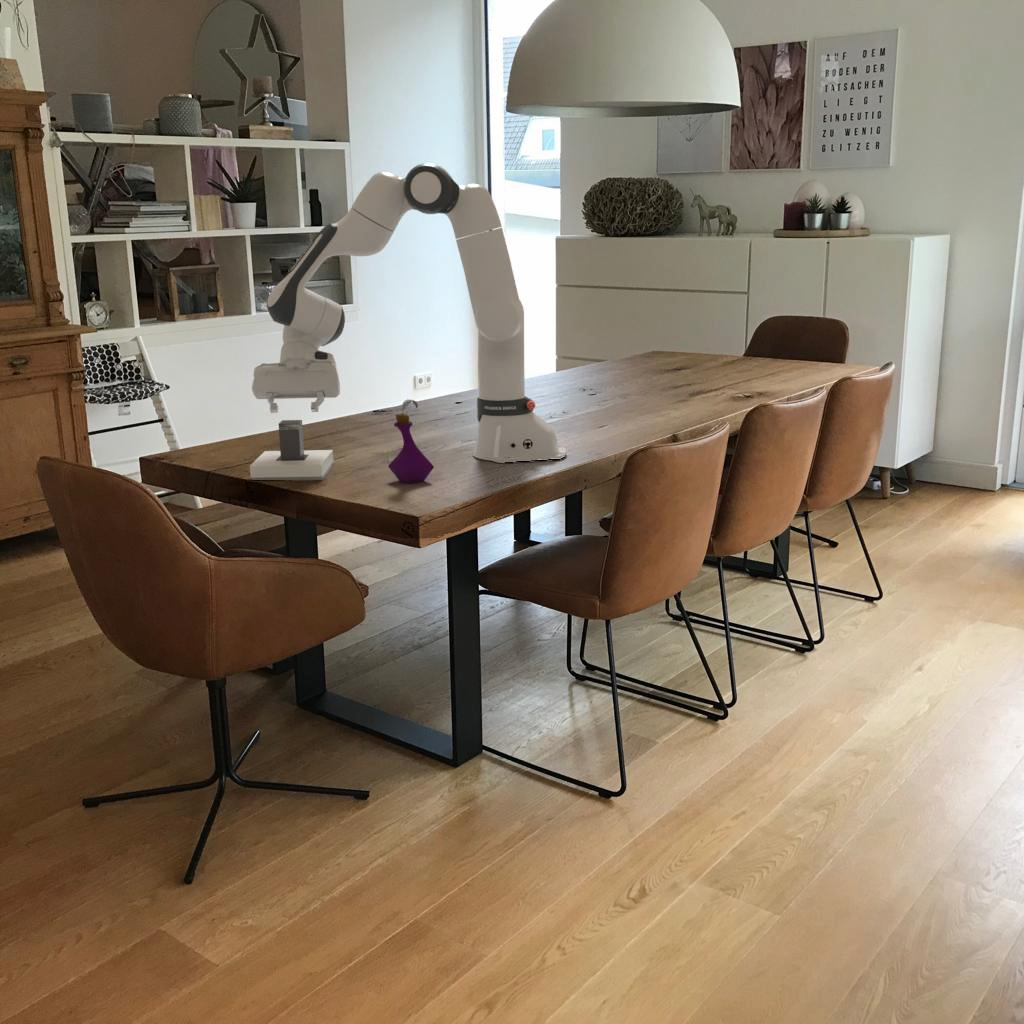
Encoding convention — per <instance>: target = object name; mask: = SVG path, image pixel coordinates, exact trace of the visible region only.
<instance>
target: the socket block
mask: <svg viewBox="0 0 1024 1024" xmlns="http://www.w3.org/2000/svg"><path fill="white" fill-rule="evenodd" d="M304 459H305V460H302V461H281V453H280V450H265V451H263V453H261V454H260V455H259V456H258V457H257V458H256V459H255V460H254V461H253V462H252V463H251V464H250V465H249V472H250V480H251V479H252V480H285V481H286V480H287V481H288V480H289V481H290V480H292V482H293V481H323V480H324V478H325V477H326V476H327V474H328V473H329V472H330V471H331V470H332V467H334V465H333V464H334V450H333V449H315V450H314V449H313V450H311V449H309V450H305V449H304ZM287 481H286V482H287Z"/></svg>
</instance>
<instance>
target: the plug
mask: <svg viewBox="0 0 1024 1024" xmlns="http://www.w3.org/2000/svg"><path fill="white" fill-rule="evenodd" d="M303 431H304V430H303V420H302V419H287V420H286V419H284V420H283V419H282V420H281V421H280V422H279V423H278V437H279V449H280V450H279V451H280V453H281V461H302V460H305V459H304V450H305V445H304V432H303Z"/></svg>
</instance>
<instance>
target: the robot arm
mask: <svg viewBox="0 0 1024 1024" xmlns="http://www.w3.org/2000/svg"><path fill="white" fill-rule="evenodd" d="M410 210H411V211H412V210H415V211H418V212H420V213H422V214H425V215H436V214H443V215H445V216H447V218H448V220H449V221H450V223H451V226H452V231H453V233H454V237H455V240H456V241H455V242H456V246H457V250H458V254H459V257H460V261H461V265H462V268H463V272H464V277H465V281H466V286H467V291H468V296H469V299H470V304H471V309H472V313H473V317H474V322H475V325H476V328H477V329H478V330H477V332H478V333H477V334H478V337H477V338H478V339H477V340H478V341H477V343H478V344H477V345H478V346H477V347H478V349H477V350H478V351H477V377H478V378H477V380H478V384H477V385H478V397H477V398H476V418H477V421H478V426H477V435H476V442H475V447H474V452H473V454H472V455H473V456H474V457H475V458H476V459H478V460H479V459H480V460H484V461H492V462H495V463H498V464H506V463H505V462H513V463H517V462H516V461H529V460H538V459H551V458H561V457H563V456H565V455H566V454H567V449H566V448H565V447H564V446H563V445H559V444H558V438H557V434H556V430H555V429H554V428H553V426H552V425H550V423H548V422H547V421H545V420H544V419H543V418H541V417H540V416H538V415H537V414H536V413H534V410H535V409H536V403H535V401H534V400H533V399H532V398H530V397H528V396H526V395H525V394H526V393H525V392H526V391H525V388H526V387H525V384H526V383H525V382H526V381H525V309H524V305H523V303H522V301H521V299H520V298H519V292H518V289H517V284H516V280H515V276H514V275H515V274H514V271H513V267H512V266H513V265H512V262H511V258H510V253H509V250H508V246H507V242H506V238H505V234H504V231H503V227H502V223H501V218H500V216H499V214H498V213H499V212H498V211H497V207H496V204H495V202H494V200H493V198H492V196H491V194H490V192H489V190H488V189H487V187H485V186H484V185H482V184H477V183H468V184H463V185H462V184H461V185H460V184H458V183H457V182H456V181H455V180H454V179H453V177H452V176H451V174H450V172H449V171H447V169H445V168H444V167H443V166H441V165H439V164H436V163H430V162H428V163H427V162H426V163H419V164H418V165H416V166H414V167H412V168H411V169H410V170H409V171H408V172H407V174H406V176H405V177H399V176H398V175H395V174H394V173H392V172H388V171H387V172H386V171H379V172H377V173H374V174H373V175H372V176H371V177H370V179H369V180H368V181H367V182H366V183H365V184H364V186H363V188H362V189H361V191H360V192H359V194H358V195H357V197H356V199H355V200H354V202H353V204H352V205H351V207H350V209H349V211H348V212H347V213H346V214H345V215H344V216H343V217H342V218H341V219H340V220H339V221H338V220H337V222H335V223H334V222H333V223H327V224H326V225H325V226H324V227H323V228H322V229H321V230H320V231H319V232H318V233H317V234H316V236H314V238H313V239H312V240H311V242H310V243H309V244H308V246H307V247H306V248H305V250H304V251H303V252H302V253H301V254H300V256H299V257H298V259H297V260H296V261H295V263H294V264H293V265H292V267H291V268H290V269H289V270H288V272H287V273H286V274H285V276H283V277H282V278H281V279H280V280H279V282H277V283H276V285H275V286H274V287H273V288H272V290H271V292H269V295H268V297H267V300H266V308H267V311H268V314H269V316H270V318H271V320H272V321H273V322H274V323H277V324H281V325H283V331H282V341H283V342H282V343H283V344H282V346H281V350H280V357H279V362H273V363H264V362H263V363H261V364H260V365H257V366H256V367H255V368H254V369H253V381H252V385H251V390H252V394H253V396H254V397H255V398H256V399H257V400H267V403H268V404H269V412H270V413H271V414H275V413H276V414H277V413H278V412H279V411H278V410H279V406H278V403H277V402H275V400H280V399H281V400H282V399H283V400H284V399H316V400H315V401H311V402H310V410H311V413H318V412H319V407H320V406H321V405H322V404H323V403H324V401H325V399H329V398H331V399H334V398H337V397H338V396H340V394H341V385H340V378H339V374H338V373H339V372H338V369H337V364H336V360H335V357H334V355H333V353H330V352H326V351H322V350H319V348H320V347H325V346H327V345H329V344H331V343H332V342H335V341H336V340H337V339H339V337H340V336H341V335H342V333H343V331H344V328H345V325H346V316H345V312H344V309H343V306H342V305H341V304H339V303H338V302H335V301H334V300H332V299H330V298H327V297H325V296H322V295H320V294H318V293H317V292H315V291H312V290H310V289H308V288H306V287H305V286H306V284H307V283H308V282H309V281H310V280H311V278H312V277H313V276H314V274H315V273H316V271H318V269H319V268H320V266H321V265H322V264H323V262H324V261H326V260H327V259H329V258H331V257H334V256H352V257H368V256H374V255H377V254H378V253H380V252H381V251H383V250H384V248H385V247H386V246H387V244H388V243H389V241H390V240H391V239H392V236H393V234H394V233H395V231H396V229H397V227H398V225H399V223H400V220H401V219H402V218H403V216H404V215H405V214H406V213H407V212H408V211H410ZM566 456H567V455H566ZM474 457H473V458H474Z"/></svg>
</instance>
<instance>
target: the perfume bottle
mask: <svg viewBox="0 0 1024 1024" xmlns="http://www.w3.org/2000/svg"><path fill="white" fill-rule="evenodd" d="M412 403H413V405H414V406H415V409H418V408H419V404H418V402H417V401H416V400H415V399H406V400H404V401H403V402H402V405H401V407H402V409H401V413H397V414H395V418H396V422H394V423H393V426H394V427H395V428H396V427H397V429H398V430H399V432H400V433H401V436H402V439H403V441H402V442H403V445H402V449H401V450H400V451H399V453H398V454H397V456H396V457H394V459H393V460H392V461H391V462H390V463H389V464H388V465H387V466H388V468H389V469H390V471H391V472H392V474H393V475H395V477H396V478H397V480H398V481H400V482H403V483H406V484H414V483H415V484H416V483H419V482H420V483H421V482H424V481H426V479H427V477H429V475H430V474H431V472H432V471H433V469H434V467H435V466H434V465H433V464H432V462H431V461H430V460H429V459H428V458H427V457H426V456H425V454H424V453H423V452H422V451H421V450H420V449H419V447H418V446H417V445H416V443H415V440H414V439H413V436H412V434H411V427H413V424H414V423H413V421H410V416H409V415H408V414H405V413H404V410H405V409H406V408H407V407H408V406H409V405H410V404H412Z"/></svg>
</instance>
